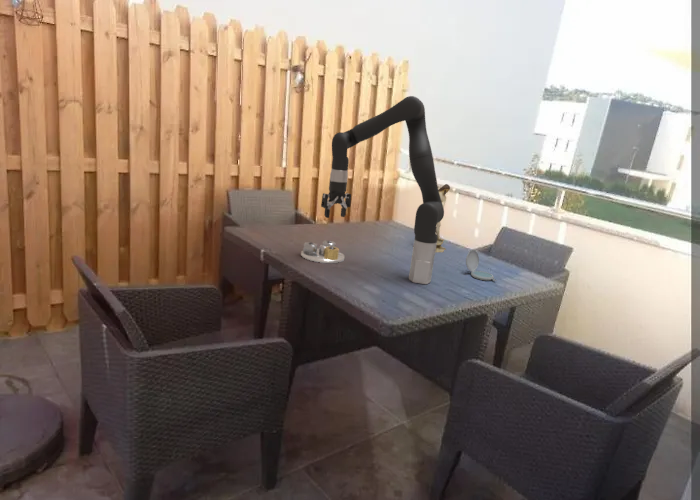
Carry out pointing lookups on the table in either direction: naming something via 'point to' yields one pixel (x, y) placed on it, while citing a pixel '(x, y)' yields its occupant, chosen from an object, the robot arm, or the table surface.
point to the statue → (439, 241)
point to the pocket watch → (472, 265)
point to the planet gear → (331, 253)
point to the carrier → (319, 252)
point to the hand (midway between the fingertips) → (334, 217)
